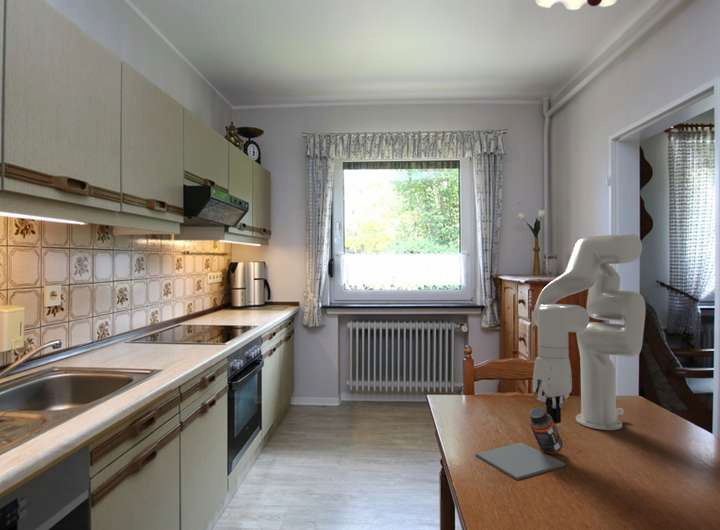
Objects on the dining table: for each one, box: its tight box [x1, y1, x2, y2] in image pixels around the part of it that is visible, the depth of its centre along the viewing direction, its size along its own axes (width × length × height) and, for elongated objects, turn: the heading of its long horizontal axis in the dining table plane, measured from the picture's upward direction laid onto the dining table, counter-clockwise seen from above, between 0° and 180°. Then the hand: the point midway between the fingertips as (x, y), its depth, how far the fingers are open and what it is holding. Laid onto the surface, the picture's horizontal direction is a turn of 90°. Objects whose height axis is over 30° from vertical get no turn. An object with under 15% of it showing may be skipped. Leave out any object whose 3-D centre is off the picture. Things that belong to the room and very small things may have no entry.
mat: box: [475, 441, 566, 481], centre depth 105 cm, size 16×14×1 cm
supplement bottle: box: [528, 407, 563, 455], centre depth 109 cm, size 6×6×11 cm
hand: (553, 421), depth 110 cm, fingers closed
